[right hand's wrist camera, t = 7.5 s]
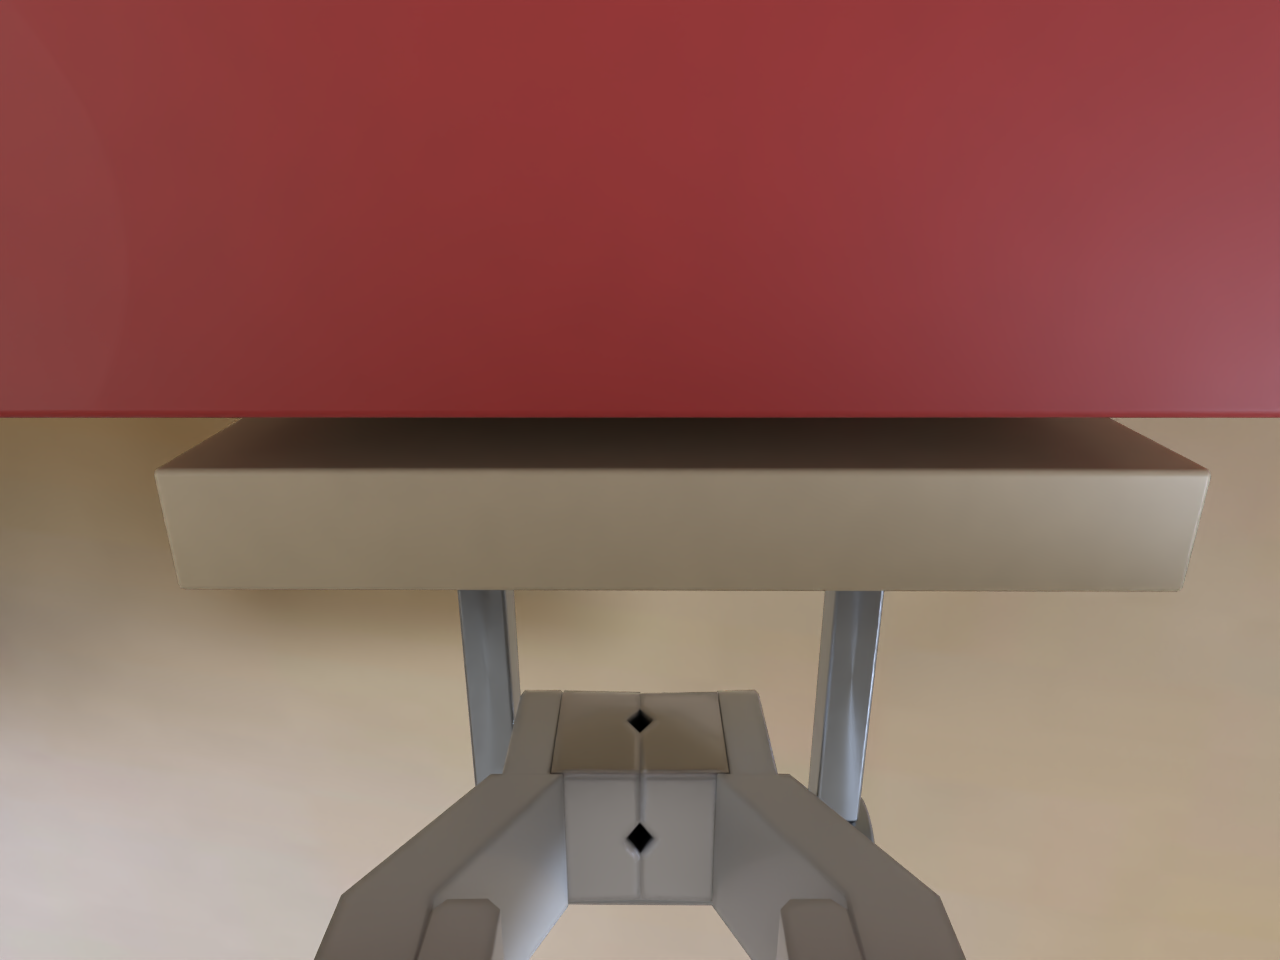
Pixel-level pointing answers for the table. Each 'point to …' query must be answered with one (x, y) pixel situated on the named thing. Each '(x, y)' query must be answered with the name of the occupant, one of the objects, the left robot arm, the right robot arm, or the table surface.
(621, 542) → the drawer
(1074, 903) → the table surface
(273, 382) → the cabinet
